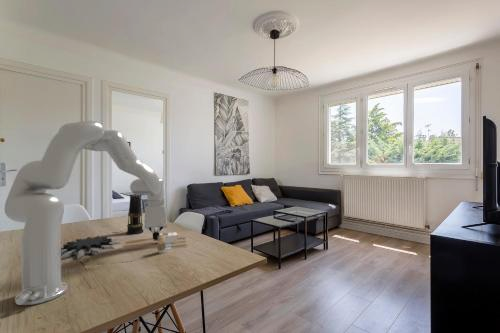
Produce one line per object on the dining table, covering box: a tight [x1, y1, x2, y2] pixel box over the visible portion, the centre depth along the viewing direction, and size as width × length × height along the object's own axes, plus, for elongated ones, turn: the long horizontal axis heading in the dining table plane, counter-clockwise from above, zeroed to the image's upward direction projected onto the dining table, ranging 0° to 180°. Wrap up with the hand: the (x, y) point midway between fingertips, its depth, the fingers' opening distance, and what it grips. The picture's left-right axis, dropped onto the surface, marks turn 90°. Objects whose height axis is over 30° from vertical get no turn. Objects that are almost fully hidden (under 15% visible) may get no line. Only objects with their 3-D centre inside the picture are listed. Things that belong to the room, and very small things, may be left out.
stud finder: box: [159, 231, 178, 244], centre depth 127 cm, size 5×8×4 cm, turn 108°
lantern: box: [126, 193, 144, 236], centre depth 149 cm, size 9×9×30 cm
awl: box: [157, 234, 166, 255], centre depth 112 cm, size 3×3×8 cm
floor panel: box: [118, 235, 187, 255], centre depth 125 cm, size 20×29×1 cm
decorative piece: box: [61, 235, 122, 261], centre depth 121 cm, size 30×4×30 cm
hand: (156, 240), depth 125 cm, fingers closed
